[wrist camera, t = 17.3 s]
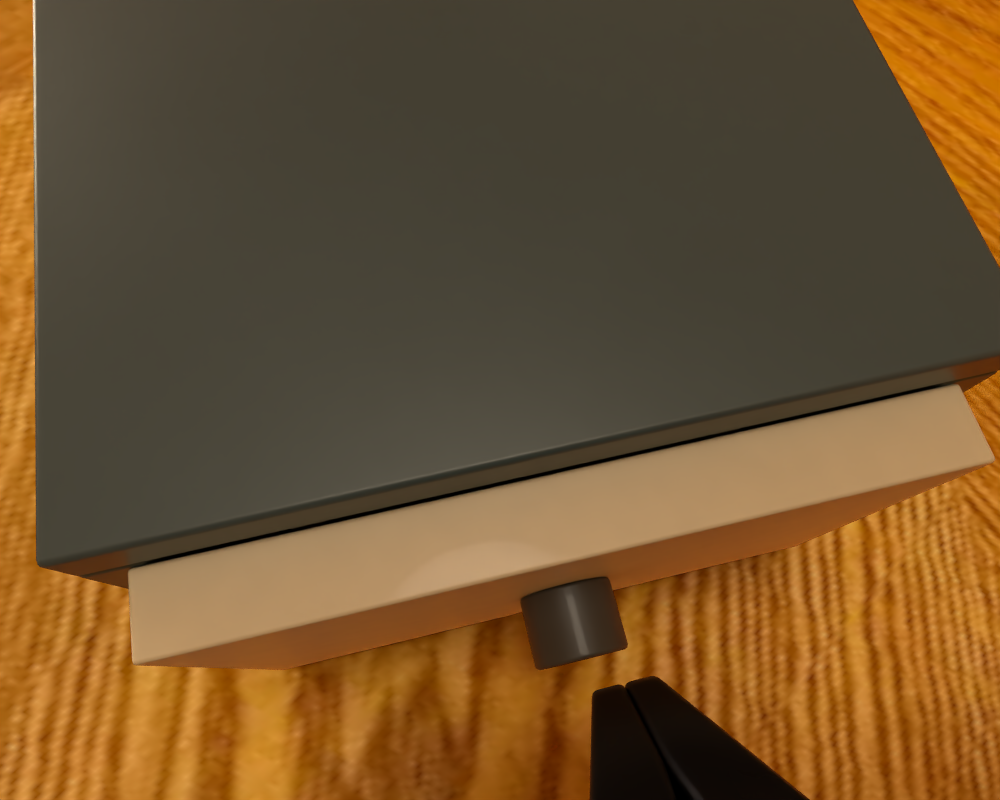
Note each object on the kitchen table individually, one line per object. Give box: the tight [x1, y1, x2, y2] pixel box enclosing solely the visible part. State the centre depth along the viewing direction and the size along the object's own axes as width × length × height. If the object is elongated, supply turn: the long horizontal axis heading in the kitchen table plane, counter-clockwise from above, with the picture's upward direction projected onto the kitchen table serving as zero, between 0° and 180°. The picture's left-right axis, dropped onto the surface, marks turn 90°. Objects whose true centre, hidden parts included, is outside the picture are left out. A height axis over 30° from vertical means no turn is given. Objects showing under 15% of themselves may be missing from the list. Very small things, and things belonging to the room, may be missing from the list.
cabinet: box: [33, 0, 1000, 589], centre depth 15 cm, size 14×13×9 cm
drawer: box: [128, 384, 995, 670], centre depth 14 cm, size 14×12×7 cm
